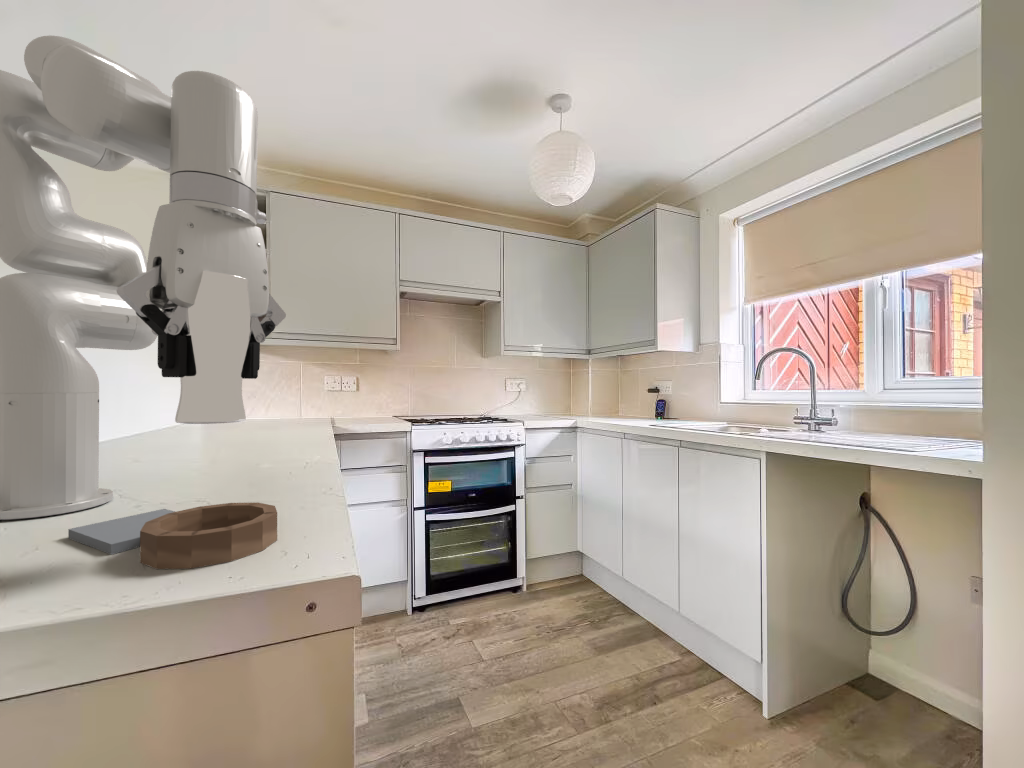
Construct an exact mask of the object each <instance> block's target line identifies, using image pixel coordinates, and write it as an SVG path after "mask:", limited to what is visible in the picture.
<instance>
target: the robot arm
mask: <svg viewBox="0 0 1024 768" xmlns="http://www.w3.org/2000/svg"><path fill="white" fill-rule="evenodd" d="M23 61H24V66H25V68H26V71H27V73H28V75H29V78H31V80H32V81H31V80H29V79H27V78H24V77H22V76H19V75H16V74H14V73H11V72H9V71H5V70H2V69H0V259H1V260H2V262H3V263H4V264H6V265H8V267H10V268H12V269H14V270H16V271H19V273H17V272H16V273H11V274H7V275H4V276H1V277H0V521H9V520H23V519H34V518H41V517H48V516H56V515H62V514H67V513H73V512H77V511H82V510H87V509H90V508H95V507H98V506H102V505H104V504H106V503H108V502H111V501H112V500H113V499H114V491H113V490H111V489H110V488H109V489H108V488H99V470H100V469H99V462H100V461H99V455H100V453H99V452H100V450H99V449H100V447H99V446H100V443H99V442H100V431H99V430H100V381H99V377H98V374H97V372H96V370H95V369H94V367H93V366H92V365H91V364H90V362H89V361H88V360H87V359H86V358H85V357H84V356H83V355H82V354H81V352H80V351H79V350H78V349H86V348H89V349H103V350H117V351H119V350H121V351H136V350H137V351H138V350H143V349H146V348H148V347H150V346H151V345H152V344H153V343H155V341H156V339H157V366H158V368H159V369H160V370H161V376H162V378H180V377H184V376H186V374H187V338H186V336H182V335H181V329H182V327H183V326H184V324H185V322H186V308H188V307H190V306H192V305H194V302H195V299H196V296H197V292H198V289H199V285H200V282H201V278H202V274H203V272H202V271H212V272H220V273H226V274H231V275H235V276H239V277H242V278H245V279H247V280H249V281H250V282H249V287H250V295H251V305H252V332H251V339H250V345H249V350H248V355H247V359H246V364H245V368H244V373H243V379H242V380H245V379H247V380H248V379H249V380H250V379H252V380H253V379H254V380H255V379H258V378H259V376H258V375H259V371H260V365H261V364H260V362H261V352H260V351H261V349H260V348H261V344H263V343H265V341H266V339H267V337H268V336H269V335H271V333H272V332H273V331H274V330H275V328H276V327H278V325H280V324H281V323H282V322H283V320H285V319H286V315H287V314H286V312H285V310H284V309H282V307H281V306H280V305H279V303H278V302H277V301H276V300H275V299H274V297H273V296H272V295H271V294H270V285H269V268H268V259H267V250H266V245H265V240H264V236H263V231H262V229H261V227H259V226H257V225H258V224H260V225H263V224H265V223H266V220H267V214H266V213H265V212H263V211H260V210H259V209H258V207H259V206H258V203H259V202H258V200H257V194H258V193H257V192H258V191H257V189H258V187H257V186H258V139H259V138H258V135H259V134H258V133H259V131H258V130H259V129H258V128H259V123H258V122H259V116H258V115H259V114H258V110H257V109H258V108H257V106H256V104H255V101H254V100H253V98H252V96H250V94H249V93H248V92H247V91H246V90H245V89H243V88H242V87H241V86H240V85H238V84H237V83H235V82H233V81H232V80H230V79H228V78H226V77H223V76H222V75H220V74H219V75H218V74H215V73H212V72H207V71H203V70H202V71H200V70H189V71H184V72H181V73H180V74H178V75H177V76H176V77H175V79H174V80H173V82H172V84H171V92H170V96H169V95H167V94H166V93H163V92H162V91H161V89H160V88H158V86H157V85H155V84H154V83H152V81H150V80H149V79H147V78H145V77H143V76H142V75H140V74H138V73H135V72H133V71H132V70H130V69H129V68H127V67H126V66H124V65H122V64H121V63H118V62H116V61H114V60H113V59H111V58H109V57H107V56H105V55H103V54H101V53H100V52H98V51H96V50H94V49H93V48H90V47H89V46H87V45H85V44H83V43H82V42H80V41H76V40H74V39H71V38H68V37H65V36H64V37H63V36H59V35H43V36H38V37H36V38H33V39H32V40H31V41H30V42H28V43H27V45H26V47H25V49H24V54H23ZM33 148H36V149H38V150H42V151H44V152H47V153H50V154H52V155H56V156H58V157H61V158H63V159H65V160H66V159H67V160H69V161H72V162H75V163H78V164H80V165H83V166H87V167H89V168H92V169H95V170H97V171H98V170H99V171H103V172H115V171H116V172H117V171H119V170H121V169H123V168H124V167H126V166H127V165H128V164H130V163H132V162H133V160H136V161H139V162H142V163H143V164H147V165H149V166H152V167H155V168H156V169H157V168H158V169H159V170H161V171H164V172H166V173H169V197H168V198H169V203H166V204H162V205H159V206H158V210H157V213H156V215H155V218H154V222H153V223H154V224H153V226H152V231H151V236H150V242H149V248H148V253H147V254H148V255H147V256H146V254H145V251H144V249H143V246H142V245H141V243H140V242H139V241H138V240H137V238H136V237H134V235H132V234H131V233H129V232H127V231H125V230H123V229H121V228H118V227H115V226H112V225H109V224H104V223H101V222H97V221H94V220H90V219H87V218H84V217H82V216H80V215H78V214H77V213H75V211H74V207H73V205H72V199H71V194H70V191H69V189H68V187H67V185H66V183H65V182H64V180H63V179H62V178H61V177H60V176H59V174H58V173H57V172H56V171H55V170H54V169H53V167H52V166H51V165H50V164H49V163H48V162H47V161H46V160H45V159H44V158H42V157H41V156H40V155H39V154H38V153H37V152H36V151H35V150H34V149H33ZM146 257H147V258H146ZM172 302H173V303H172ZM263 316H264V317H263ZM259 317H260V318H261V317H263V318H262V320H259Z"/></svg>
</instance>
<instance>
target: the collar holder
mask: <svg viewBox="0 0 1024 768" xmlns="http://www.w3.org/2000/svg"><path fill="white" fill-rule="evenodd" d="M276 541H278V510H277V508H276V505H271V504H267V503H262V502H227V503H226V502H225V503H219V504H210V505H202V506H195V507H192V508H187V509H183V510H177V511H175V512H173V513H168V514H166V515H163V516H161V517H158V518H155V519H153V520H150V521H148V522H145V524H144V526H143V527H142V529H141V531H140V547H139V563H140V564H141V565H145V566H148V567H150V568H152V569H155V570H179V569H181V570H182V569H186V570H187V569H192V570H193V569H196V568H202V567H203V568H204V567H207V566H212V565H218V564H219V565H220V564H225V563H230V562H234V561H236V560H239V559H242V558H245V557H247V556H251V555H253V554H254V555H255V554H257V553H260V552H263V551H264V550H265V549H267V548H269V547H270V546H271V545H272V544H274V543H276Z"/></svg>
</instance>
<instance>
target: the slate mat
mask: <svg viewBox="0 0 1024 768" xmlns="http://www.w3.org/2000/svg"><path fill="white" fill-rule="evenodd" d="M173 512H176V511H175V510H171V509H168V508H167V509H166V508H162V509H155V510H152V511H148V512H143V513H142V512H141V513H137V514H133V515H128V516H124V517H120V518H115V519H109V520H105V521H101V522H96V523H91V524H85V525H82V526H78V527H77V526H76V527H72V528H68V536H67V537H68V539H69V540H72V541H75V542H77V543H80V544H83V545H85V546H88V547H90V548H93V549H96V550H99V551H101V552H104V553H106V554H108V555H114V554H119V553H122V552H125V551H131V550H133V549H137V548H140V531H141V529H142V527H143V526H144V524H145V522H148V521H150V520H153V519H155V518H158V517H161V516H163V515H166V514H168V513H173Z"/></svg>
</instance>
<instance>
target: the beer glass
mask: <svg viewBox="0 0 1024 768" xmlns="http://www.w3.org/2000/svg"><path fill="white" fill-rule="evenodd" d="M202 272H203V274H202V278H201V282H200V285H199V289H198V292H197V296H196V299H195V302H194V305H192V306H190V307H188V308H186V322H185V324H184V326H183V327H182V329H181V335H182V336H186V338H187V374H186V376H184V377H179V379H180V381H179V382H180V395H179V400H178V401H179V402H178V406H177V409H176V413H175V418H174V419H175V420H174V422H175V423H178V424H187V425H192V424H193V425H206V424H207V425H209V424H211V425H213V424H229V423H230V424H231V423H232V424H233V423H239V422H240V423H241V422H245V421H246V411H245V410H246V409H245V405H244V399H243V380H244V379H243V373H244V368H245V364H246V359H247V355H248V350H249V345H250V339H251V332H252V305H251V295H250V287H249V282H250V281H249V280H247V279H245V278H242V277H239V276H235V275H231V274H226V273H220V272H212V271H202ZM172 303H173V302H172Z"/></svg>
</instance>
